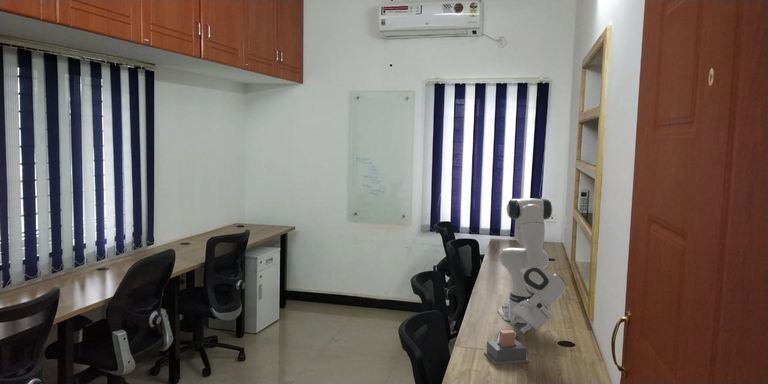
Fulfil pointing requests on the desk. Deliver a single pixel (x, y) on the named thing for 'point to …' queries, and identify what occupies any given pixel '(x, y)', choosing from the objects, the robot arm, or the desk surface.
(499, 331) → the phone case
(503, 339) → the salmon pink rectangular block
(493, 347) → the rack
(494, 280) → the desk surface
